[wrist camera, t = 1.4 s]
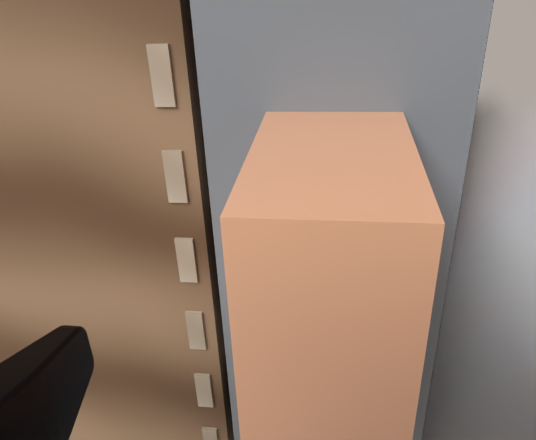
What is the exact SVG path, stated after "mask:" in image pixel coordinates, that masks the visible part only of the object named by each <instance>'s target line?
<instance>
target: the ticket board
mask: <svg viewBox="0 0 536 440" xmlns="http://www.w3.org/2000/svg"><path fill="white" fill-rule="evenodd" d="M62 325H73V326H81V327H84V328H85V330H86V332H87V335H88V339H89V342H90V346H91V350H92V354H93V357H94V369H93V373H92V376H91V379H90V382H89V385H88V388H87V390H86V393H85V396H84V399H83V402H82V404H81V407H80V410H79V413H78V416H77V419H76V421H75V424H74V427H73V430H72V433H71V436H70V438H69V440H234V433H233V423H232V413H231V403H230V394H229V384H228V374H227V364H226V354H225V344H224V334H223V324H222V315H221V305H220V295H219V285H218V275H217V265H216V255H215V246H214V236H213V226H212V216H211V206H210V196H209V186H208V176H207V167H206V157H205V147H204V137H203V127H202V117H201V107H200V98H199V88H198V78H197V68H196V58H195V48H194V38H193V29H192V19H191V9H190V0H0V363H1V362H2V361H4V360H6V359H7V358H9V357H10V356H12V355H14V354H15V353H17V352H19V351H20V350H22V349H23V348H25V347H27V346H28V345H30V344H31V343H33V342H35V341H36V340H38V339H40V338H41V337H43V336H44V335H46V334H48V333H49V332H51V331H53V330H54V329H56V328H57V327H59V326H62Z"/></svg>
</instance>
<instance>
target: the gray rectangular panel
mask: <svg viewBox="0 0 536 440" xmlns="http://www.w3.org/2000/svg"><path fill="white" fill-rule="evenodd" d="M493 2H494V0H190V9H191V19H192V29H193V38H194V48H195V58H196V68H197V78H198V88H199V98H200V107H201V117H202V127H203V137H204V147H205V157H206V167H207V176H208V186H209V196H210V206H211V216H212V226H213V236H214V246H215V255H216V265H217V275H218V285H219V295H220V305H221V315H222V324H223V334H224V344H225V354H226V364H227V374H228V384H229V394H230V403H231V413H232V423H233V433H234V440H422V433H423V427H424V421H425V415H426V409H427V403H428V397H429V391H430V385H431V379H432V373H433V367H434V361H435V355H436V348H437V342H438V336H439V330H440V324H441V318H442V312H443V306H444V300H445V294H446V288H447V282H448V276H449V270H450V263H451V257H452V251H453V245H454V239H455V233H456V227H457V221H458V215H459V209H460V203H461V197H462V191H463V185H464V178H465V172H466V166H467V160H468V154H469V148H470V142H471V136H472V130H473V124H474V118H475V112H476V106H477V100H478V93H479V87H480V81H481V75H482V69H483V63H484V57H485V51H486V45H487V39H488V32H489V27H490V20H491V15H492V8H493Z"/></svg>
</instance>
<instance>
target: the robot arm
mask: <svg viewBox="0 0 536 440" xmlns="http://www.w3.org/2000/svg"><path fill="white" fill-rule="evenodd" d="M93 369H94V357H93V354H92V350H91V346H90V342H89V339H88V335H87V332H86V330H85V328H84V327H81V326H73V325H62V326H59V327H57V328H56V329H54V330H53V331H51V332H49V333H48V334H46V335H44V336H43V337H41V338H40V339H38V340H36V341H35V342H33V343H31V344H30V345H28V346H27V347H25V348H23V349H22V350H20V351H19V352H17V353H15V354H14V355H12V356H10V357H9V358H7V359H6V360H4V361H2V362H1V363H0V440H69V438H70V436H71V433H72V430H73V427H74V424H75V421H76V419H77V416H78V413H79V410H80V407H81V404H82V402H83V399H84V396H85V393H86V390H87V388H88V385H89V382H90V379H91V376H92V373H93Z"/></svg>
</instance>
